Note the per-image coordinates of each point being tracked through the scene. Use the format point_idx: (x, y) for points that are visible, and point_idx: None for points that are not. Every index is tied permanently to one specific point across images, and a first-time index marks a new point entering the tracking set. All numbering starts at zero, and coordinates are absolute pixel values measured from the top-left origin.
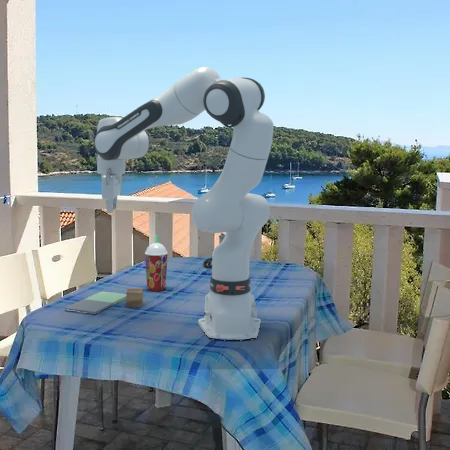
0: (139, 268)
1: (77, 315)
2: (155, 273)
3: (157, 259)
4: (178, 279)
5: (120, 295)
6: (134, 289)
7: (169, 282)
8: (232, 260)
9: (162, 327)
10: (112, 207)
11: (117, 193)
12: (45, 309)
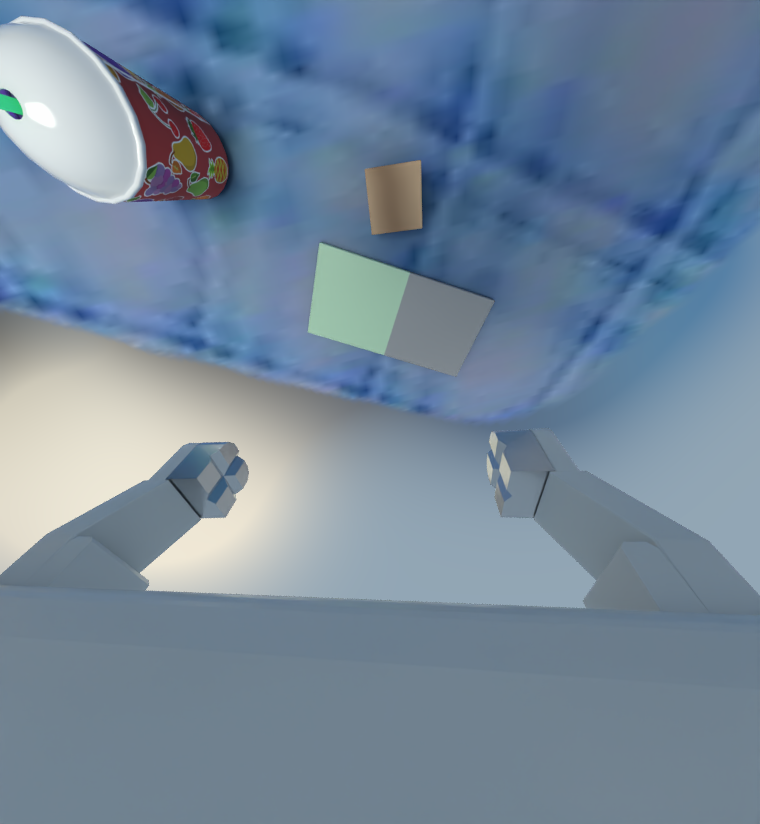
0: (11, 285)
1: (490, 340)
2: (194, 139)
3: (143, 106)
4: None
5: (335, 269)
6: (382, 204)
7: None
8: None
9: None
10: (577, 470)
11: (212, 677)
12: (441, 409)
